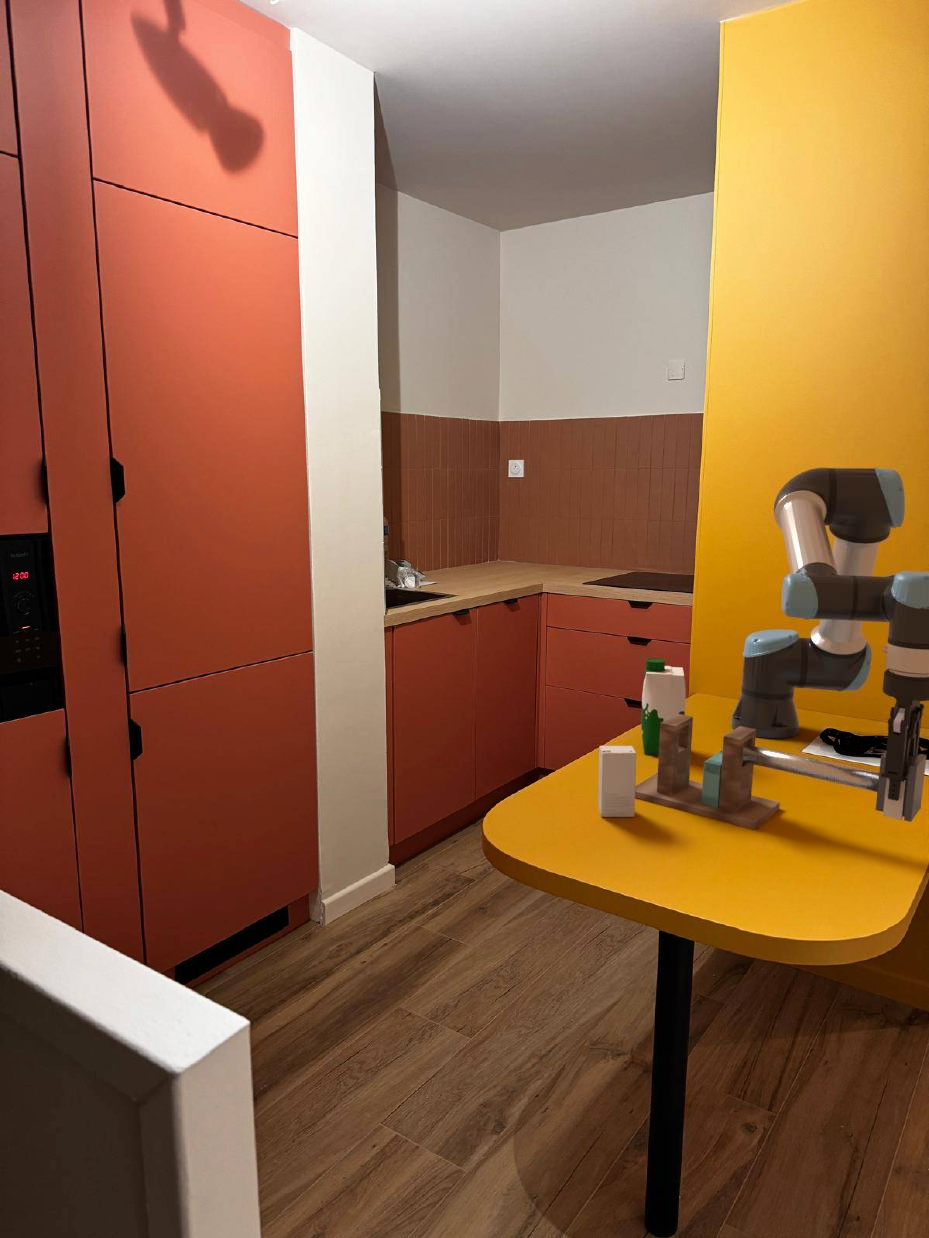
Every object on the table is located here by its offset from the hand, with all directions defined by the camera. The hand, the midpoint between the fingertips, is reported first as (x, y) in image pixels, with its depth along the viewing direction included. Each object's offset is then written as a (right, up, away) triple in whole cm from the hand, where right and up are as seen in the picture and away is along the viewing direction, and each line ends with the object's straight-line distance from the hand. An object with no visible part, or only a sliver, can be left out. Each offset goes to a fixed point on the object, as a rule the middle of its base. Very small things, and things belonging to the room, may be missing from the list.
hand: (896, 812), depth 140 cm
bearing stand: (-25, -3, +21) cm, 33 cm away
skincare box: (-42, -4, +15) cm, 45 cm away
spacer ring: (-23, -2, +19) cm, 30 cm away
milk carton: (-27, +2, +49) cm, 56 cm away
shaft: (-9, +2, +7) cm, 12 cm away
